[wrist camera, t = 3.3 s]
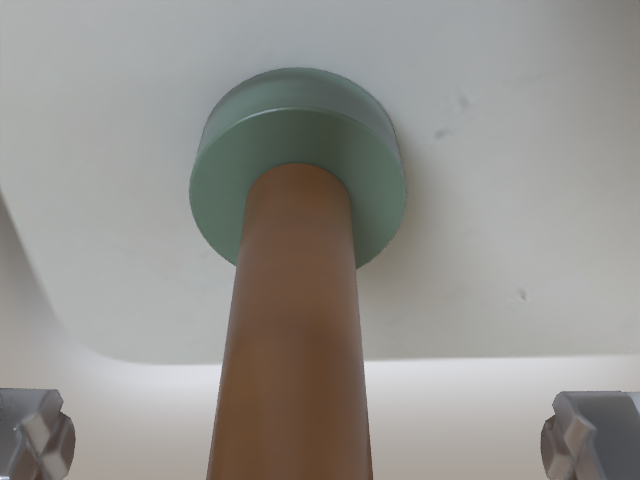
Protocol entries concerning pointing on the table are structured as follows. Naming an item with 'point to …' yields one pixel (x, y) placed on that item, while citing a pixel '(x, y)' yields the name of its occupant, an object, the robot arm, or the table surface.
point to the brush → (295, 268)
